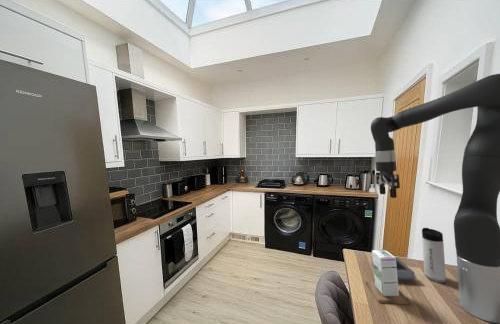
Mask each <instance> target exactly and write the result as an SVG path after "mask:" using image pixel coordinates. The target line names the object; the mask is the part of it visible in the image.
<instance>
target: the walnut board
mask: <svg viewBox="0 0 500 324" xmlns="http://www.w3.org/2000/svg"><path fill="white" fill-rule="evenodd" d="M365 285H366V286H367V288H368V290H370V292H371V293H372V296H373V297H374V298H375V299H376V301H377V303H383V304H384V303H385V304H397V305H398V304H399V305H410V304H411V303H410V300H409V299H408V298H407V297H406V296H405V294H404V293H403V292H402V291H401V290H400V289H399V296H383V295H382V293H381V292H380V291H379V290H378V289H377V288H376V287H375V283H374V281H372V280H371V281H370V280H369V281H367V280H365Z"/></svg>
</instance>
